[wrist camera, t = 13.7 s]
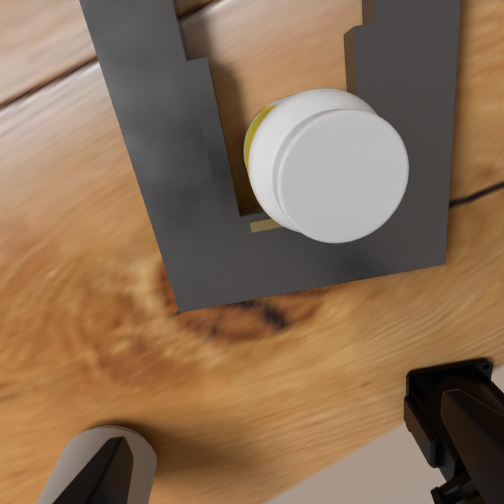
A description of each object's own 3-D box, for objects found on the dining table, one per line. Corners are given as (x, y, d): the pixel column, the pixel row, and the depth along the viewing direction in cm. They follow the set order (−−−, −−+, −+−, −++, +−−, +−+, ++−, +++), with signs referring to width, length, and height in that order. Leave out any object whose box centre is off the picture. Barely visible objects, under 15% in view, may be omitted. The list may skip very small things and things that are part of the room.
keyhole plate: (454, -316, 12) (487, -380, 11) (431, 254, 22) (447, 265, 20) (22, -215, 13) (-7, -262, 11) (183, 300, 22) (179, 314, 20)
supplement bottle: (264, 210, 20) (289, 288, 11) (227, 123, 18) (219, 129, 9) (348, 174, 19) (448, 224, 10) (319, 79, 17) (412, 38, 8)
